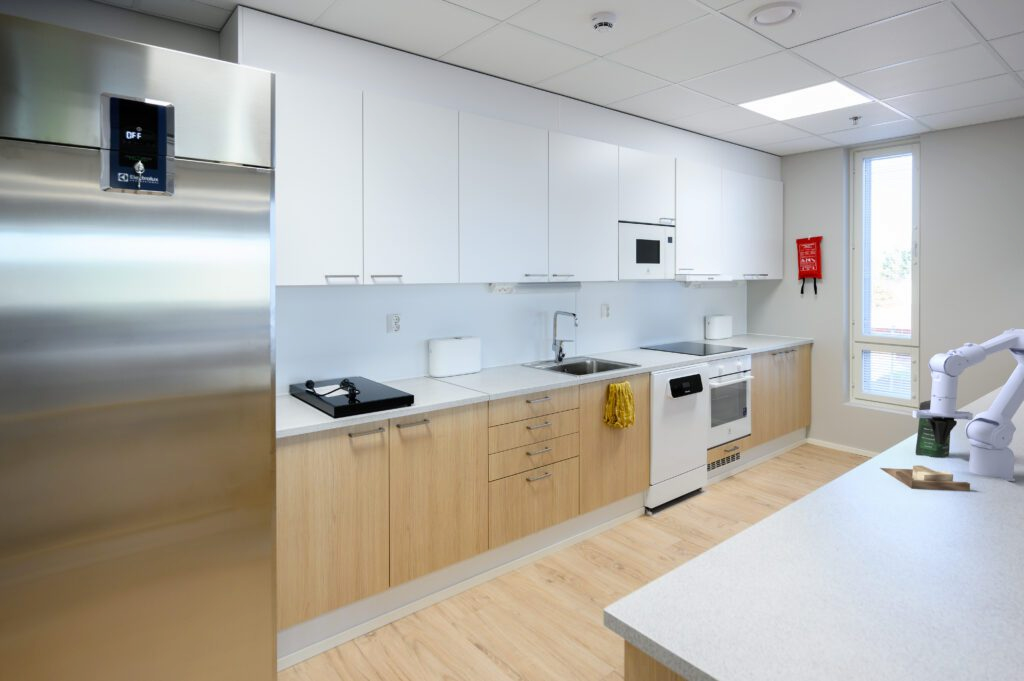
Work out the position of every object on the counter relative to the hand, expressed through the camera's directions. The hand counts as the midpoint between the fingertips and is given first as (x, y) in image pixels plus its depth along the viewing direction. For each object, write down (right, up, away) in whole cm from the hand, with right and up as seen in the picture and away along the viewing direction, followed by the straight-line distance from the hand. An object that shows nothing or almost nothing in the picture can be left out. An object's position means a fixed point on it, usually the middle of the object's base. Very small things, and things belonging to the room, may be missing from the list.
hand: (940, 443), depth 163 cm
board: (-8, -10, -3) cm, 13 cm away
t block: (-8, -9, -6) cm, 14 cm away
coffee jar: (+13, -8, +20) cm, 25 cm away
